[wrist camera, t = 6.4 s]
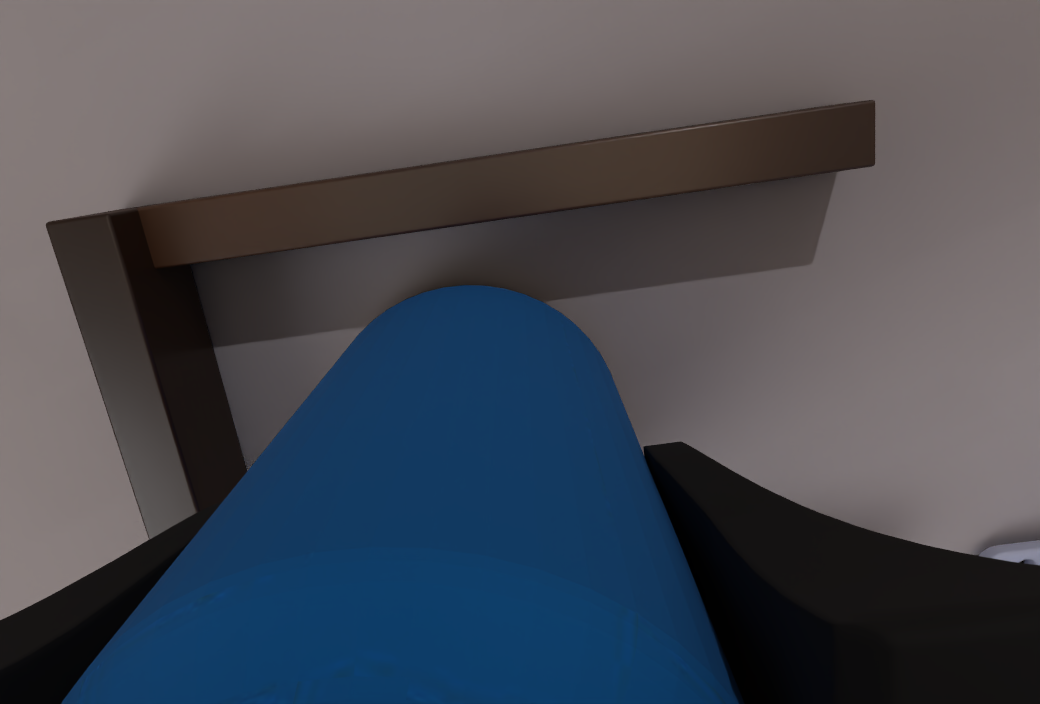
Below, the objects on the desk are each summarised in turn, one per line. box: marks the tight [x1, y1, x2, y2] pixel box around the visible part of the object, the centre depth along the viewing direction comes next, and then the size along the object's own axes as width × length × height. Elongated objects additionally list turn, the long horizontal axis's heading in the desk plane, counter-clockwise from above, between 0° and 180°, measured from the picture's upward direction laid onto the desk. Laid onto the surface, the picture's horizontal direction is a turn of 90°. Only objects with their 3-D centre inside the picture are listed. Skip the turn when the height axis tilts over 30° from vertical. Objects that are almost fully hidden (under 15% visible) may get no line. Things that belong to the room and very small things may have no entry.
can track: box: [46, 100, 875, 540], centre depth 15 cm, size 15×11×2 cm
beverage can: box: [61, 285, 745, 704], centre depth 11 cm, size 6×6×12 cm
